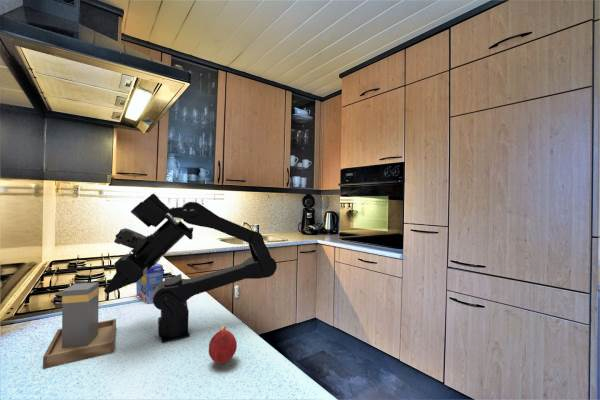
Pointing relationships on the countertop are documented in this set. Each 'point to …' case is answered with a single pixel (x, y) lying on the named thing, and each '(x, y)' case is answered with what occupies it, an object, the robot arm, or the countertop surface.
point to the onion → (222, 346)
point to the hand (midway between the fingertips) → (113, 286)
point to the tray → (96, 348)
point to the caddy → (80, 314)
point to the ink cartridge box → (149, 283)
